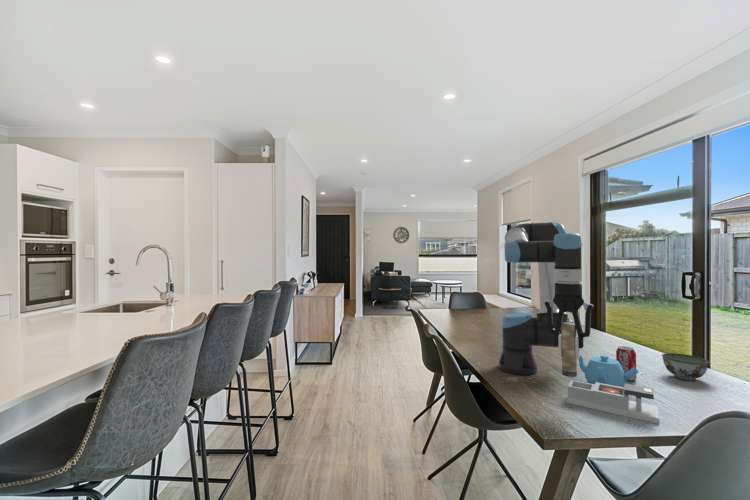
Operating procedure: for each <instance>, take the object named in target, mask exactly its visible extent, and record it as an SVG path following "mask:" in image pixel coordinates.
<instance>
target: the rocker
mask: <svg viewBox="0 0 750 500" xmlns="http://www.w3.org/2000/svg"><path fill="white" fill-rule="evenodd" d="M623 387H624V394H627V395H629V396H632V397H636V396H637V397H641V398H642V399H643V398H644V399H649V400H654V399H655V398H654V397H655V394H654V388H652V387H647V386H642V385H637V384H630V383H625V384H624V385H623Z"/></svg>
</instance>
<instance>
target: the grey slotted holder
mask: <svg viewBox="0 0 750 500" xmlns="http://www.w3.org/2000/svg"><path fill="white" fill-rule="evenodd" d="M604 388H610V389H614V390H617V391H619V392H620V395H619V394H614V393H609V392H604V391H602V389H604ZM566 402H567V404H571V405H575V406H578V407H579V406H580V407H583V408H588V409H592V410H595V411H596V410H598V411H601V412H606V413H611V414H615V415H619V416H624V417H629V418H632V419H637V420H642V421H645V422H650V423H653V424H660V414H659V406H657V405H654V404H648V403H643V402H642V397H637V396H635V400H630V395H627V394H624V386H623V387H619V386H613V385H608V384H603V383H597V382H596V383H595V384H590V383H588V382H583V381H578V380H575V379H574V380H572V379H571V380H570V382H569V384H568V385H567V398H566Z"/></svg>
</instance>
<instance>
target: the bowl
mask: <svg viewBox="0 0 750 500" xmlns="http://www.w3.org/2000/svg"><path fill="white" fill-rule="evenodd" d="M661 357H662V361H663V364H664V367H665V368H666V369H667V370H668V372H670V373H671V375H672V374H673V376H674V378H676V379H678V380H681V381H684V382H685V381H686V382H695V381H696V379H700V378H701V377H703V376H704V375H705V374H706V372H707V371H708V366H709V364H710V362H709V360H707V359H706V358H702V357H700V356H696V355H690V354H683V353H677V352H676V353H673V352H672V353H671V352H670V353H669V352H668V353H667V352H666V353H662V354H661ZM667 370H666V371H667Z"/></svg>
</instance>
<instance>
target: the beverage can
mask: <svg viewBox="0 0 750 500" xmlns="http://www.w3.org/2000/svg"><path fill="white" fill-rule="evenodd" d="M615 360H617V361H619V363H620V365H621V366H622V368H623V371H624V374H625V373H626V372H628V371H629V370H630V369H632V368H633V367H634V368H635V369H637V353H636V351H635V348H633V347H630V346H625V345H623V346H622V345H621V346H617V349H616V350H615ZM636 380H637V374H636V375H634V376H633V377H631V378H629V379H628V380H626V381H627V382H633V381H636Z"/></svg>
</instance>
